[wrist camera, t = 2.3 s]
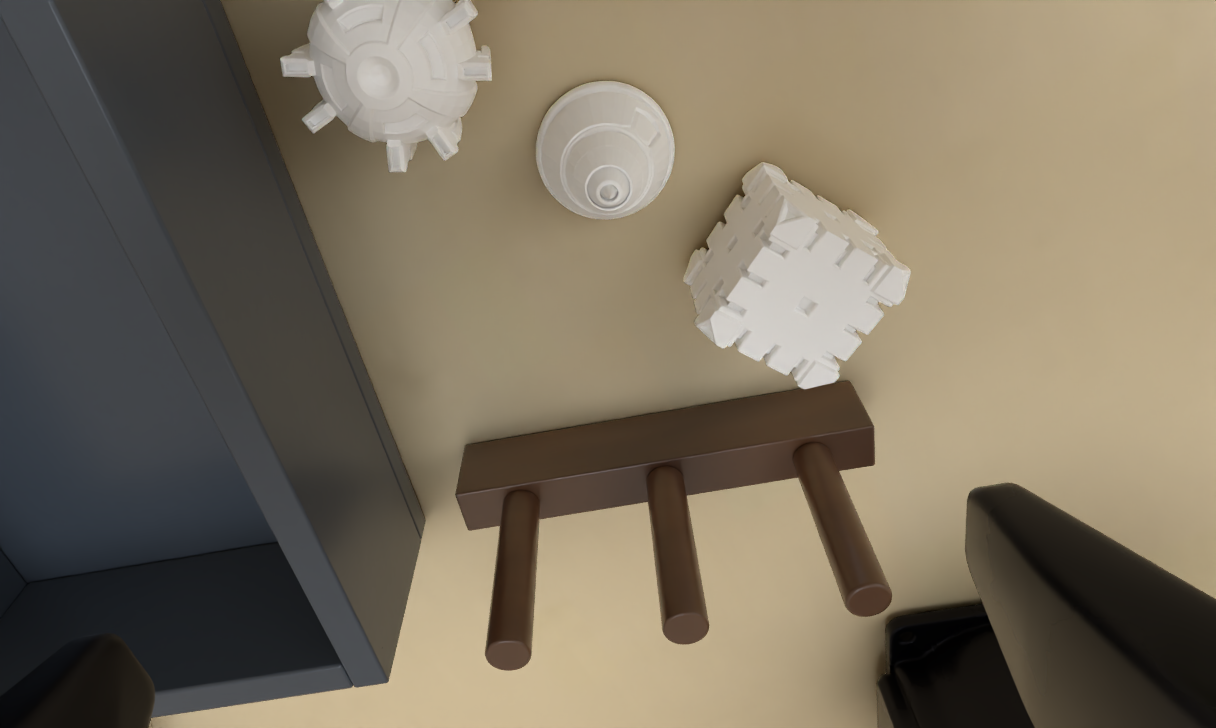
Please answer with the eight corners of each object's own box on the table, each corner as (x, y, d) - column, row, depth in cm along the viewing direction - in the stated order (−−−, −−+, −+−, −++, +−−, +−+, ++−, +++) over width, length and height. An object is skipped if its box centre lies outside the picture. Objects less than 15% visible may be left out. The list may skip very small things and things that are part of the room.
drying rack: (821, -425, 13) (1007, -649, 7) (851, 418, 21) (949, 612, 16) (216, -282, 14) (-36, -390, 8) (476, 479, 22) (442, 687, 16)
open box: (144, -195, 14) (-61, -228, 10) (426, 520, 23) (389, 684, 18) (-459, -58, 15) (-915, -27, 10) (32, 585, 23) (-100, 757, 19)
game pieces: (871, 214, 18) (923, 274, 16) (784, 328, 20) (818, 401, 17) (363, -87, 15) (313, -78, 12) (302, 76, 17) (247, 118, 14)
